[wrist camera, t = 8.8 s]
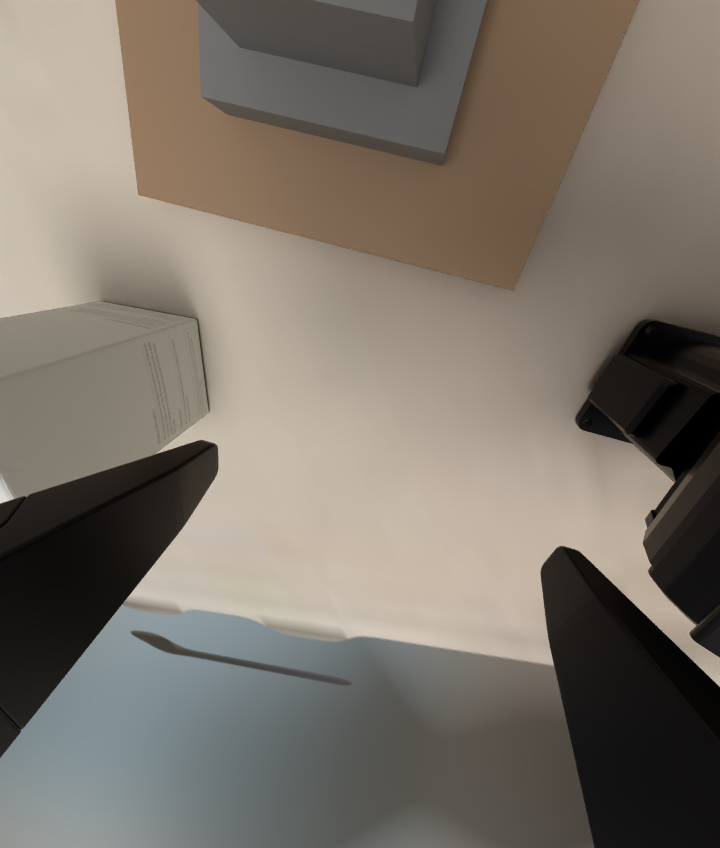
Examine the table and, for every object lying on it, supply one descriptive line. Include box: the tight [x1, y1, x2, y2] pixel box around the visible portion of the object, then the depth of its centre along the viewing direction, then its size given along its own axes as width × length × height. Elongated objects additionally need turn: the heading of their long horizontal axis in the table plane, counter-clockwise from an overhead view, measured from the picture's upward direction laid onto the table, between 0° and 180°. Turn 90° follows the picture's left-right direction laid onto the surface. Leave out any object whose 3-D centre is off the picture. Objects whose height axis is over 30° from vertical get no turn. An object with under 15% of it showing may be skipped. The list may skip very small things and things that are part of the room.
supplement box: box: [0, 301, 209, 503], centre depth 17 cm, size 7×7×13 cm
